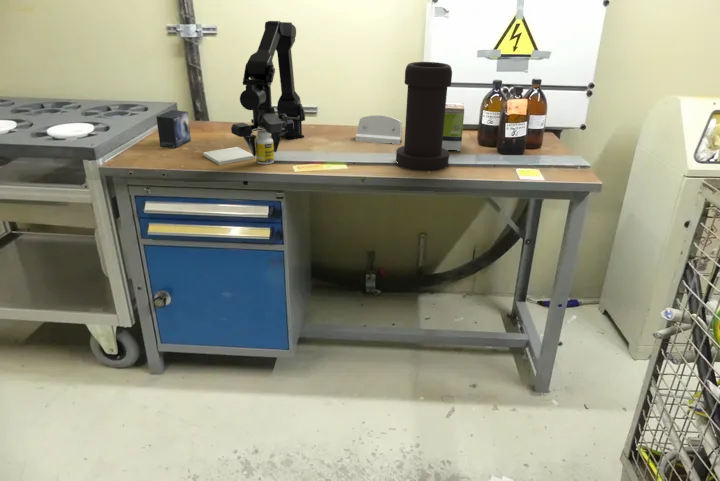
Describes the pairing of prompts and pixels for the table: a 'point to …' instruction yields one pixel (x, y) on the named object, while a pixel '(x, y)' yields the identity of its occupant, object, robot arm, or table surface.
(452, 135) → the tea box
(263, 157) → the supplement bottle
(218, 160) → the pad
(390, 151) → the table surface
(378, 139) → the grey rounded upright plate
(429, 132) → the pipe
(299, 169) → the table surface
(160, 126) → the small box
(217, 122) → the table surface
